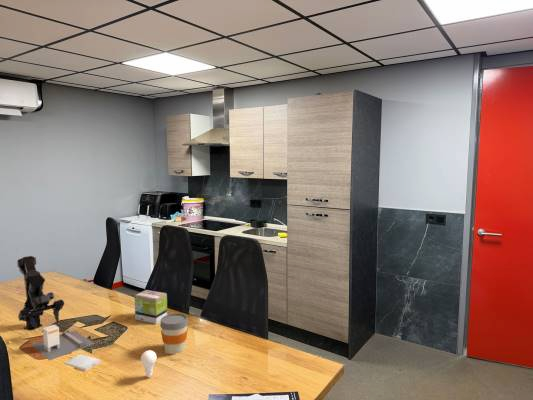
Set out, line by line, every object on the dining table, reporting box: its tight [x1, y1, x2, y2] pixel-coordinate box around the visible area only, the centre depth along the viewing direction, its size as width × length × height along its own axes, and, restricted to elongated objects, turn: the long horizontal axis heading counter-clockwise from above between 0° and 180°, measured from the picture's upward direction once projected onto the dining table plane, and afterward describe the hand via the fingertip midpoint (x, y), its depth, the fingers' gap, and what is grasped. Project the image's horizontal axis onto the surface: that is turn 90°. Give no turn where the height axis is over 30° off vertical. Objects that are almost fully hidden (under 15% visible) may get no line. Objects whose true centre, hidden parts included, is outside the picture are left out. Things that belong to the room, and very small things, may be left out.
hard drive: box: [64, 354, 102, 372], centre depth 161 cm, size 2×8×12 cm
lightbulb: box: [140, 350, 158, 378], centre depth 150 cm, size 6×6×11 cm
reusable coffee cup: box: [160, 313, 189, 355], centre depth 172 cm, size 12×13×15 cm
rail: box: [61, 329, 86, 348], centre depth 181 cm, size 20×3×2 cm, turn 50°
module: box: [42, 324, 60, 352], centre depth 172 cm, size 5×5×10 cm
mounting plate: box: [31, 330, 95, 361], centre depth 177 cm, size 22×20×1 cm
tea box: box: [134, 289, 168, 325], centre depth 207 cm, size 15×10×15 cm
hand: (47, 324), depth 174 cm, fingers open, 9 cm apart
